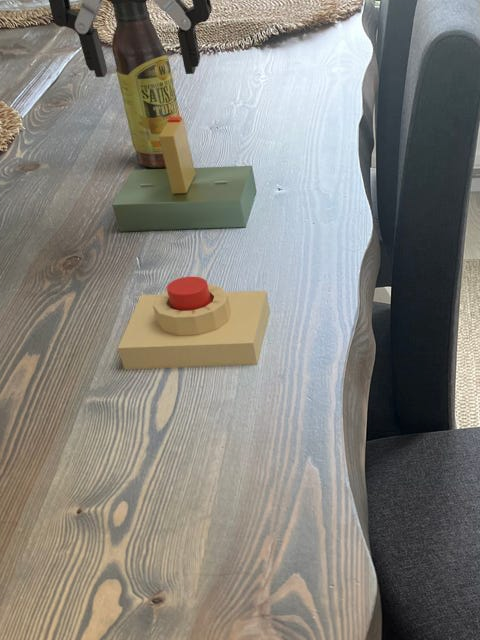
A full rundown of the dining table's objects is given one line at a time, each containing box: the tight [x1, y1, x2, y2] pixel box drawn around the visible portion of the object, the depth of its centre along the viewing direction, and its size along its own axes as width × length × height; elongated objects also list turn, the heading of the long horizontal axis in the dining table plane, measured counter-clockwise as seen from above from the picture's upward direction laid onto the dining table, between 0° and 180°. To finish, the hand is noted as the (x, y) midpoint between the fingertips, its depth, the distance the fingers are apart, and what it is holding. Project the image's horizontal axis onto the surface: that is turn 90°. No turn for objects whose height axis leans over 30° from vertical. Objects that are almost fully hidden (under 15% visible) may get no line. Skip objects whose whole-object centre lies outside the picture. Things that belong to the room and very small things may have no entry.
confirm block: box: [117, 283, 271, 370], centre depth 93 cm, size 12×10×4 cm
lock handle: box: [159, 116, 195, 194], centre depth 111 cm, size 6×2×6 cm, turn 1°
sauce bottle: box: [111, 1, 181, 169], centre depth 119 cm, size 6×6×20 cm
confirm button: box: [166, 276, 211, 311], centre depth 91 cm, size 4×4×2 cm
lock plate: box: [111, 165, 257, 233], centre depth 114 cm, size 14×10×3 cm
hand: (146, 73), depth 97 cm, fingers open, 8 cm apart
